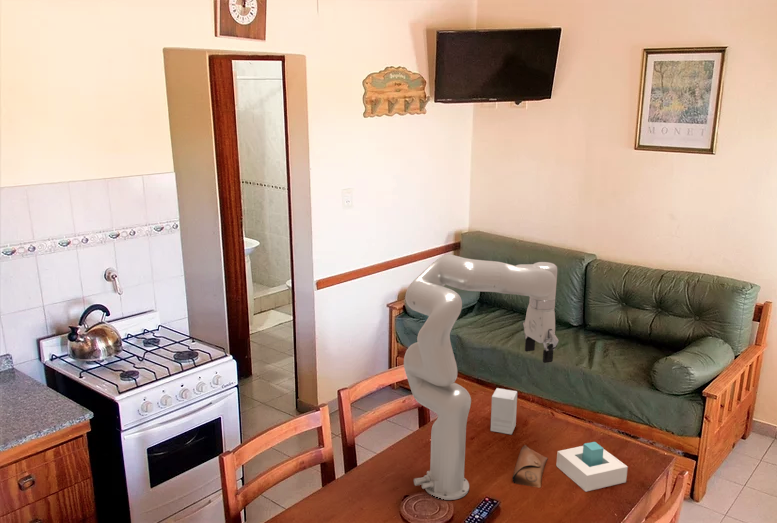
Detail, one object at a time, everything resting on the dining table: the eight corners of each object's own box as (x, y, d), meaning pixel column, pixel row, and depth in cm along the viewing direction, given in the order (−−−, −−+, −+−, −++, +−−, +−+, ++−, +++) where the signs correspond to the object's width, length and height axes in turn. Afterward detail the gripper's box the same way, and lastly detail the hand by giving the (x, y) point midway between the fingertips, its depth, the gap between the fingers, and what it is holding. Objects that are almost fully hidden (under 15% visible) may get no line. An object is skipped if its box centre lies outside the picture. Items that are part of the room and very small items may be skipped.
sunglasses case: (542, 488, 180) (531, 468, 180) (520, 495, 183) (509, 475, 183) (548, 457, 197) (538, 438, 197) (528, 464, 200) (517, 445, 199)
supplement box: (516, 425, 217) (518, 391, 214) (511, 435, 210) (513, 400, 207) (494, 421, 219) (496, 387, 216) (489, 431, 213) (491, 396, 210)
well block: (585, 491, 179) (587, 475, 178) (556, 466, 192) (557, 451, 191) (625, 482, 184) (627, 466, 183) (594, 457, 197) (596, 443, 196)
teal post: (589, 478, 186) (591, 450, 184) (581, 471, 190) (583, 443, 187) (600, 476, 187) (603, 448, 185) (592, 468, 191) (595, 441, 189)
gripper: (516, 296, 199) (513, 348, 203) (548, 312, 184) (544, 368, 188) (536, 294, 202) (533, 345, 206) (569, 310, 186) (565, 365, 190)
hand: (538, 356), depth 197 cm, fingers open, 9 cm apart
